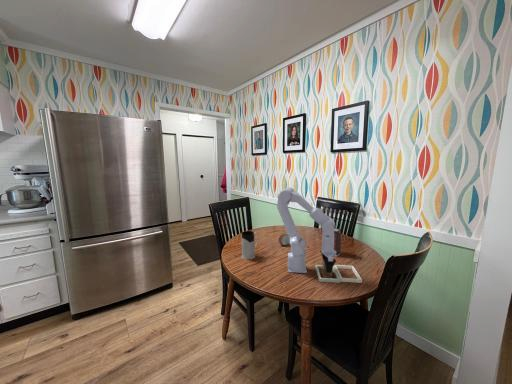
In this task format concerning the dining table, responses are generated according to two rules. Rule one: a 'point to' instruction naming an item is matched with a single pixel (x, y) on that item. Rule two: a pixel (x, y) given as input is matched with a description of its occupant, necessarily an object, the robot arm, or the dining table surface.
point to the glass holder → (248, 244)
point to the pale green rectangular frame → (327, 278)
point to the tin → (284, 239)
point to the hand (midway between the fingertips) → (327, 268)
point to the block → (325, 271)
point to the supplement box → (337, 241)
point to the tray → (348, 278)
